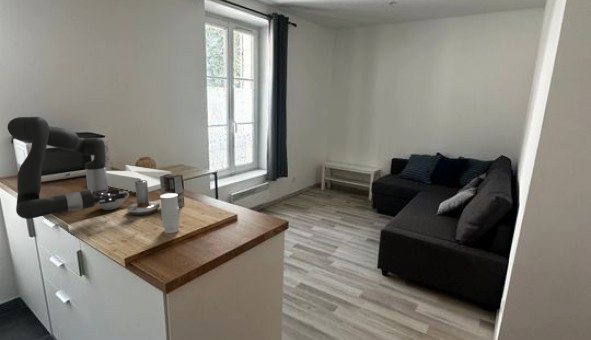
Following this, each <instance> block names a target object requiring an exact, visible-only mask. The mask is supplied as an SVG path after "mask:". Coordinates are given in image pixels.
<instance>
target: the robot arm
mask: <svg viewBox="0 0 591 340" xmlns="http://www.w3.org/2000/svg"><path fill="white" fill-rule="evenodd" d="M7 131H8V133H9V134H10V136H12V137H13V138H14V139H16V140H18V141H22V142H24V141H25V142H31V146H30V150H29V152H28V154H27V156H26V157H25V159H24V160H23V161H22V163H21V165H20V167H19V168H18V172H17V183H16V184H17V185H16V186H17V187H16V188H17V189H16V190H17V196H16V198H17V199H16V206H15V212H16V214H17V216H18V217H20V218H22V219H24V220H31V219H36V218H39V217H45V216H48V215H52V214H53V215H54V214H61V213H65V212H66V213H67V212H73V211H75V212H76V211H79V210H85V209H90V208H94V207H95V204H96V203H98V202H99V203H100V204H104V203H110V202H115V200H116V199H124V198H125V197H126V193H122V192H121V193H120V194H119V191H120V189H111V190H109V187H108V182H107V174H106V171H107V167H106V164H107V163H106V162H107V159H106V158H107V157H106V146H105V144H106V143H105V141H104V139H102V138H100V137H80V136H78V134H77V133H76V132H74V131H72V130H70V129H66V128H63V127H57V126H56V127H55V126H49V123H48V121H47V120H46V119H45V118H44V117H41V116H19V117H15V118H12V119H11V120H10V121H9V122H8V124H7ZM47 146H50V147H52V148H53V147H54V148H56V149H60V150H65V151H73V152H76V153H78V154H80V155H83V156H93V160H91V161H87V162H86V163H85V164H84V168H85V169H84V170H85V176H86V183H87V185H86V186H87V190H81V191H75V192H69V193H67V194H60V195H53V196H50V197H46V198H40V192H41V189H42V172H43V171H42V169H43V162H44V159H45V154H46V151H47ZM110 198H112V199H110Z"/></svg>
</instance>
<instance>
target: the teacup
mask: <svg viewBox="0 0 591 340" xmlns="http://www.w3.org/2000/svg"><path fill="white" fill-rule="evenodd" d="M120 193H124V194H125V198H122V199H116V200H115V202H110V203H104V204H100V203H99V202H97V204H98V207H99V208H100V209H102V210H104V211H110V210H111V211H112V210H115V209H118V208H119V207H120V206H121V205H122V204H123V203H124V202H125V201H126V200H127V199H128V198H129V196H130V193H129V191H125V190H119V194H120ZM110 199H112V198H110Z"/></svg>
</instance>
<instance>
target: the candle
mask: <svg viewBox="0 0 591 340" xmlns="http://www.w3.org/2000/svg"><path fill="white" fill-rule="evenodd" d="M177 196H178V194H176V193H168V194H163V195H161V194H160V195H159V198H160V204H161V206H160V207H161V208H160V214H161V215H160V216H161V220H162V222H161V223H162V228H163V232H164V233H165V234H173V233H174V234H175V233H177V232H179V231H180V225H181V224H180V223H181V221H180V217H181V213H180V208H179V207H178V200H177Z"/></svg>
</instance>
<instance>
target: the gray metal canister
mask: <svg viewBox="0 0 591 340" xmlns="http://www.w3.org/2000/svg"><path fill="white" fill-rule="evenodd" d="M135 187H136V193H135V196H136V203H137V207H147V206H149V201H150V198H149V197H150V195H149V192H148V185H147V180H139V181H136V182H135Z"/></svg>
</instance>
